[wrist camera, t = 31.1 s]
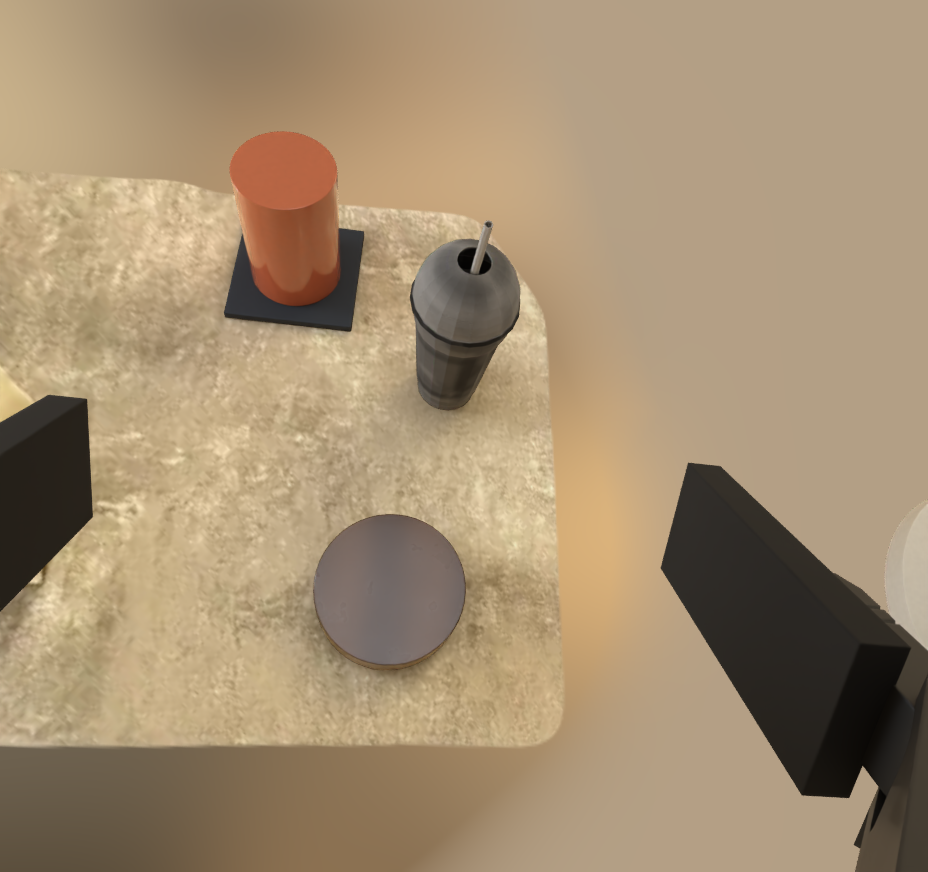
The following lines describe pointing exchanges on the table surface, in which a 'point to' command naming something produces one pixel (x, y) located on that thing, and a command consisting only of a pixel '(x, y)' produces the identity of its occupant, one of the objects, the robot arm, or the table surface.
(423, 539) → the saucer
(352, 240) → the mat
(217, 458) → the table surface
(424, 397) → the beverage cup
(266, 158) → the terracotta cylinder
